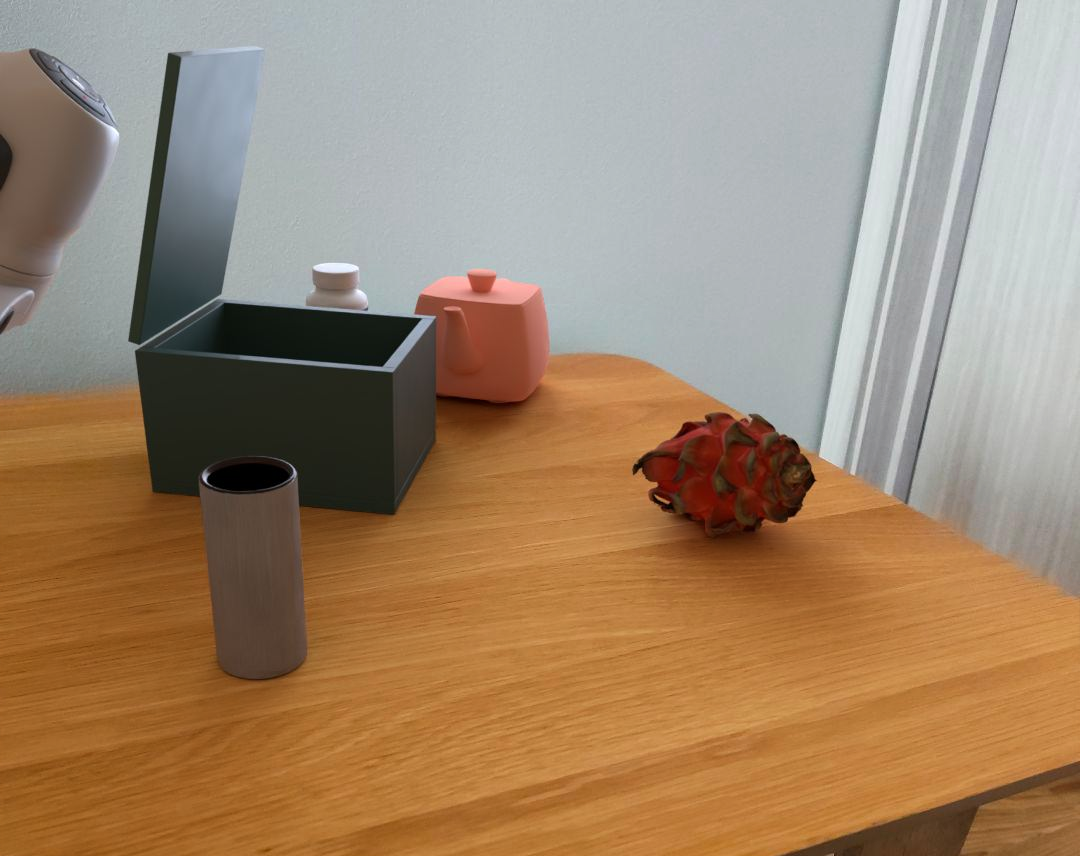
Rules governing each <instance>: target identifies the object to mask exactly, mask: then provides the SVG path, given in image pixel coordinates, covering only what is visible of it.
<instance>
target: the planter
mask: <svg viewBox="0 0 1080 856" xmlns="http://www.w3.org/2000/svg"><path fill="white" fill-rule="evenodd" d="M199 489H200V496H199V498H200V508H201V518H202V526H203V536H204V547H205V554H206V555H205V556H206V566H207V574H208V585H209V596H210V603H211V613H212V623H213V633H214V642H215V651H216V657H217V658H216V659H217V662H218V665H219V666H220V668H221V669H222V670H223V671H225V672H226V673H227V674H229V675H230V676H234V677H237V678H241V679H247V680H264V679H272V678H275V677H279V676H283V675H286V674H288V673H290V672H292V671H294V670H295V669H297V668H298V667H299V666H300V665H302V663H303V662H304V661H305V660H306V657H307V654H308V642H307V641H308V638H307V636H308V635H307V621H306V605H305V604H306V603H305V587H304V585H305V584H304V583H305V582H304V569H303V568H304V567H303V552H302V534H301V533H302V532H301V516H300V506H299V497H298V480H297V472H296V470H295V468H294V467H293V466H292V465H291V464H289V463H287V462H285V461H283V460H280V459H276V458H271V457H263V456H244V457H235V458H230V459H225V460H222V461H219V462H216V463H213V464H211V465H210V466H208V467H206V468H205V469H204V470H203V471H202V472H201V473H200V475H199Z"/></svg>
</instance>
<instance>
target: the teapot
mask: <svg viewBox="0 0 1080 856" xmlns="http://www.w3.org/2000/svg"><path fill="white" fill-rule="evenodd" d="M466 275H467V276H457V275H456V276H454V275H450V276H449V275H448V276H443V277H441V278H439V279H437V280H435V281H434V282H433V283H431V284H430V285H428V286H427V287H425V288H424V289H423V290H422V291H421V292H420V293H418V297H417V301H416V305H415V307H414V308H415V310H414V312H413V314H414V315H427V316H436V396H439V397H456V398H457V397H458V398H466V399H473V400H485V401H487V402H489V403H493V404H504V403H508V402H522V401H524V400H526V399H527V398H528V397H530V396H531V394H533V392H534V391H535V390H536V389H537V388H538V386H539V385H540V383H541V381H542V380H543V378H544V375H545V373H546V371H547V368H548V365H549V361H550V331H549V322H548V316H547V310H546V304H545V299H544V295H543V290H542V288H541V286H540V285H537V284H533V283H525V282H518V281H511V280H510V279H508V278H504V277H500V278H497V276H498V273H497V272H496V271H495V270H492V269H488V268H472V269H469V270H468V271H466Z"/></svg>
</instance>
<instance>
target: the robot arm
mask: <svg viewBox="0 0 1080 856" xmlns="http://www.w3.org/2000/svg"><path fill="white" fill-rule="evenodd" d="M119 143H120V131H119V128H118V124H117V121H116V118H115V117H114V114H113V112H112V110H111V109H110V107H109V105H108V104H107V102H106V100H105V99H104V98H103V96H102V95H101V94H100V93H98V92H97V91H96V90H95V88H94V87H93V86H92V85H91V84H90V83H89V82H88V81H87V80H86V79H85V78H84V77H82V76H81V75H80V74H79V73H78V72H76V71H75V70H74V69H73V68H72V67H70V66H69V65H67V63H64V62H63V61H62V60H60V59H59V58H57V57H56V56H53V55H50V54H48V53H47V52H45V51H43V50H40V49H38V48H33V47H29V48H25V49H21V50H18V51H4V52H2V51H0V336H1V335H2V334H3V333H6V332H8V331H10V330H12V329H14V328H15V327H19V326H23V325H25V324H27V323H29V322H30V321H31V320H32V319H33V316H34V314H35V312H36V311H37V309H38V307H39V305H40V303H41V301H42V300H43V298H44V297H45V294H46V292H47V291H48V289H49V288H50V285H51V283H52V281H53V279H54V278H55V276H56V275H57V273H58V271H59V270H60V267H61V265H62V259H63V253H64V249H65V247H66V244H67V242H68V241H69V239H70V238H71V236H72V235H73V234H74V233H75V232H77V231H78V230H79V229H80V228H81V227H82V226H83V225H84V223H85V222H86V220H87V219H88V217H89V215H90V213H91V212H92V209H93V207H94V206H95V203H96V202H97V199H98V198H99V195H100V193H101V192H102V188H103V187H104V184H105V183H106V180H107V178H108V176H109V173H110V171H111V169H112V167H113V163H114V160H115V158H116V155H117V151H118V148H119Z"/></svg>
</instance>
